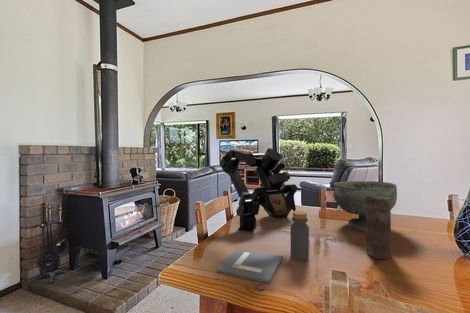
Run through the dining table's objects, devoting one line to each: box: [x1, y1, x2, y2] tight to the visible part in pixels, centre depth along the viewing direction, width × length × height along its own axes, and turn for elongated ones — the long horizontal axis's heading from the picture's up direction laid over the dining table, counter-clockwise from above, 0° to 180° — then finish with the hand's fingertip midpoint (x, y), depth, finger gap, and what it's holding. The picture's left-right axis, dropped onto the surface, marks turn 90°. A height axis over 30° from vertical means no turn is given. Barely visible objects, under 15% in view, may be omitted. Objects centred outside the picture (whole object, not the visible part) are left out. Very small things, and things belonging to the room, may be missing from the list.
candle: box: [365, 195, 392, 260], centre depth 81 cm, size 8×7×20 cm
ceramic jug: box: [262, 162, 293, 221], centre depth 124 cm, size 17×15×30 cm
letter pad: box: [216, 248, 284, 284], centre depth 75 cm, size 16×16×1 cm
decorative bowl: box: [333, 180, 398, 232], centre depth 110 cm, size 26×26×20 cm
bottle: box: [290, 210, 310, 262], centre depth 80 cm, size 6×6×15 cm
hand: (285, 212), depth 86 cm, fingers open, 9 cm apart
